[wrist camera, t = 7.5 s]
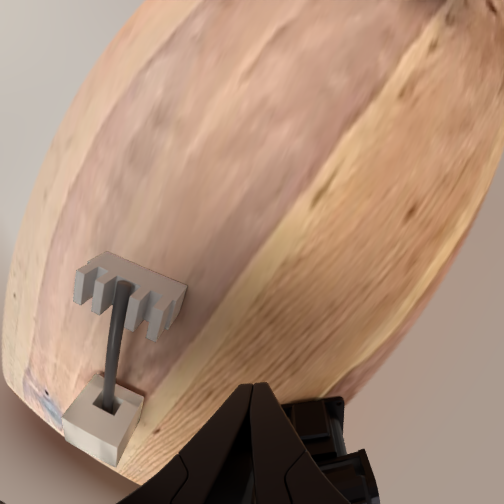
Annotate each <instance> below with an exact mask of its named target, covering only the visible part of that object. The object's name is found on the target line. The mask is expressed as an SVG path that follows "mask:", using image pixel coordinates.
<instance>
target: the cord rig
mask: <svg viewBox="0 0 504 504" xmlns="http://www.w3.org/2000/svg"><path fill="white" fill-rule="evenodd" d="M186 289H187V285H185V284H182V283H180V282H177V281H175V280H172V279H170V278H168V277H165V276H163V275H160V274H158V273H156V272H153V271H151V270H149V269H146V268H144V267H142V266H139V265H137V264H135V263H132V262H130V261H128V260H126V259H123V258H121V257H119V256H117V255H114V254H112V253H110V252H108V251H106V252H104V253H103V254H101V255H99V256H97V257H95V258H93V259H91V260H89V261H88V263H87V265H85V266H83V267H81V268H79V269H78V270H76V277H75V286H74V296H73V301H74V302H75V303H77V304H79V305H82V304H83V303H85V302H86V301H87V300H89V299H90V298H91V297H93V300H92V309H91V311H92V312H94V313H96V314H98V315H101V314H102V313H103V312H104V311H105V310H106V309H108V308H109V307H110V306H111V305H113V309H112V315H111V322H110V329H109V336H108V345H107V353H106V363H105V374H104V387H103V404H102V410H104V411H106V412H108V413H109V414H111V415H113V403H114V393H115V384H116V375H117V368H118V360H119V353H120V347H121V340H122V334H123V328H126V329H128V330H130V331H132V332H134V331H135V329H136V328H137V327H138V326H139V325H140V323H141V322H142V321H143V320H146V321H148V322H149V326H148V330H147V335H146V338H147V339H149V340H152V341H154V342H156V341H157V339H158V338H159V336H160V335H161V333H162V332H163V330H164V329H166V330H168V329H169V328H170V326H171V325H172V323H173V322H174V320H175V318H176V317H177V315H178V314H179V312H180V308H181V305H182V302H183V299H184V296H185V292H186ZM126 312H127V313H126ZM125 317H126V319H125ZM124 323H125V324H124Z"/></svg>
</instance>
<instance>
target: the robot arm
mask: <svg viewBox="0 0 504 504" xmlns="http://www.w3.org/2000/svg"><path fill="white" fill-rule="evenodd" d="M337 402H339V403H337ZM343 422H344V400H343V398H342V397H336V398H331V399H325V400H318V401H312V402H304V403H297V404H288V405H280V404H279V402H278V400H277V398H276V397H275V395H274V393H273V391H272V390H271V388H270V386H269V384H268V383H267V382H260V383H255V384H254V385H253V384H252V383H249V384H240V385H239V386H238V387H237V388H236V389H235V390H234V392H233V393H232V394H231V395H230V396H229V397H228V399H227V400H226V401H225V402H224V403H223V404H222V406H221V407H220V408H219V409H218V410H217V411H216V412H215V414H214V415H213V416H212V417H211V418H210V419H209V420H208V421H207V422H206V424H205V425H204V426H203V427H202V428H201V429H200V430H199V431H198V432H197V433H196V434H195V436H194V437H193V438H192V439H191V440H190V441H189V442H188V443H187V444H186V445H185V446H184V447H183V448H182V449H181V450H180V451H179V453H178V454H179V455H178V454H176V455H175V456H174V458H173V459H172V460H171V461H170V462H169V463H168V464H166V465H165V466H164V467H163V468H162V469H161V470H160V471H159V472H158V473H157V474H155V475H154V476H153V477H152V478H151V479H149V480H148V481H147V482H146V483H144V484H143V485H142V486H140V487H139V488H137V489H136V490H135V491H133V492H132V493H131V494H129V495H128V496H126V497H125V498H123V499H122V500H121V501H119V502H118V503H116V504H380V499H379V493H378V488H377V484H376V480H375V477H374V474H373V472H372V468H371V466H370V463H369V460H368V457H367V454H366V451H365V449H361V450H358V452H354V453H350V454H347V452H346V448H345V443H344V439H343ZM0 504H5V503H4V502H2V501H0Z"/></svg>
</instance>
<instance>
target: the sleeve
mask: <svg viewBox="0 0 504 504" xmlns="http://www.w3.org/2000/svg"><path fill="white" fill-rule="evenodd" d="M103 387H104V377H102V376H100V375H98V374H95V375H94V376H93V378H92V379H91V380H90V381H89V383H88V384H87V385H86V386H85V388H84V389H83V390H82V391H81V393H80V394H79V395H78V396H77V398H76V399H75V400H74V401H73V403H72V404H71V405H70V407H69V408H68V409H67V410H66V412H65V413H64V414H63V416H62V424H63V430H64V435H65V440H66V441H68V442H69V443H71V444H73V445H74V446H76V447H78V448H79V449H81V450H83V451H85V452H86V453H88V454H90V455H92V456H94V457H96V458H98V459H100V460H102V461H103V462H105V463H108V464H110V465H112V466H114V467H117V465H118V463H119V461H120V458H121V456H122V454H123V452H124V450H125V448H126V446H127V444H128V442H129V440H130V438H131V436H132V434H133V432H134V430H135V428H136V426H137V424H138V422H139V420H140V415H141V410H142V405H143V401H144V397H143V396H141V395H139V394H136V393H134V392H132V391H130V390H128V389H126V388H124V387H122V386H120V385H118V384H115V393H114V403H113V415H111V414H109V413H108V412H106V411H104V410H102V404H103Z"/></svg>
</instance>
